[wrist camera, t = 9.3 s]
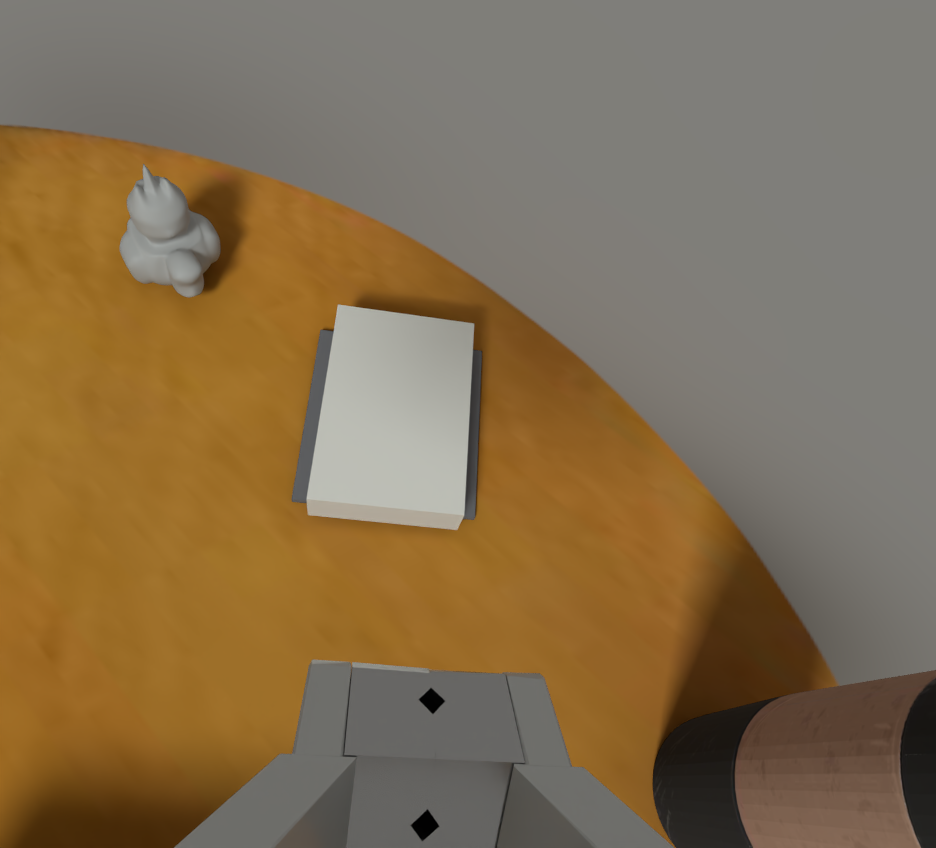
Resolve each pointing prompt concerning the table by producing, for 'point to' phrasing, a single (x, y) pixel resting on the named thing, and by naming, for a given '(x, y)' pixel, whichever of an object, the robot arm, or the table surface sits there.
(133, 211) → the grey animal figurine
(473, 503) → the mat
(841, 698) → the travel mug
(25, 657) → the table surface
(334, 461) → the white flat box
